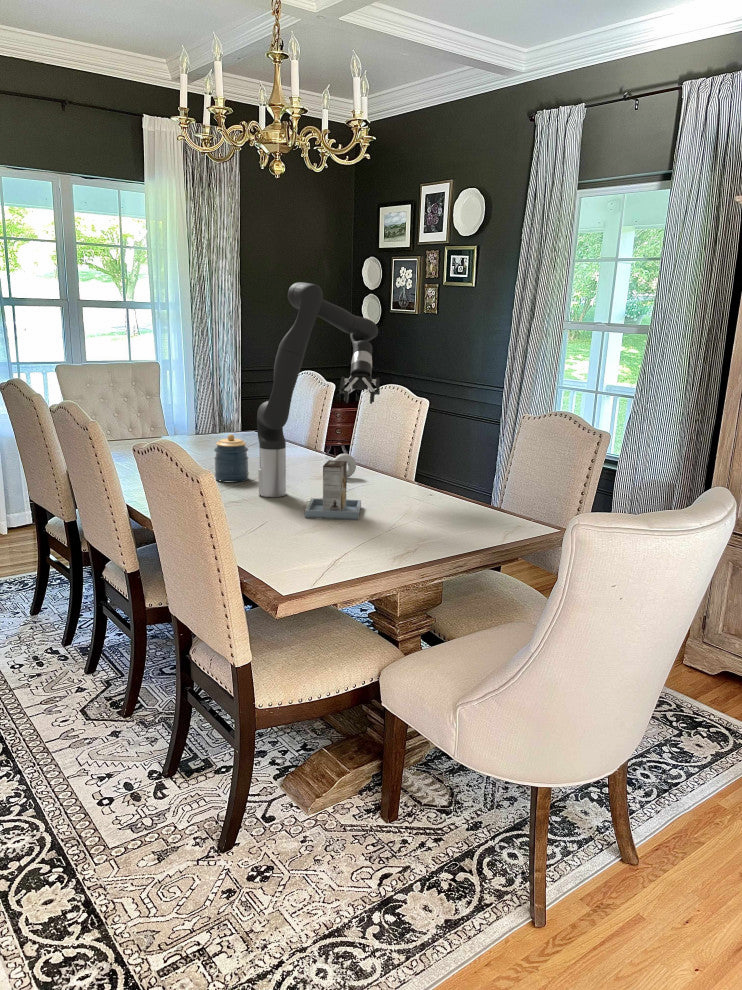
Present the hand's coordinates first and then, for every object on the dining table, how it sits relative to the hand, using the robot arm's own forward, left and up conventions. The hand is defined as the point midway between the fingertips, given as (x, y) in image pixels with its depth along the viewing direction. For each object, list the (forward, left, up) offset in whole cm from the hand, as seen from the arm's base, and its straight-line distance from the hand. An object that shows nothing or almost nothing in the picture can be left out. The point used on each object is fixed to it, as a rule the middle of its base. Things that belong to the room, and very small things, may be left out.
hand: (358, 402), depth 263 cm
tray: (-6, -25, -34) cm, 42 cm away
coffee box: (-6, -24, -33) cm, 42 cm away
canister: (-50, +18, -34) cm, 63 cm away
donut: (-7, +26, -34) cm, 44 cm away
